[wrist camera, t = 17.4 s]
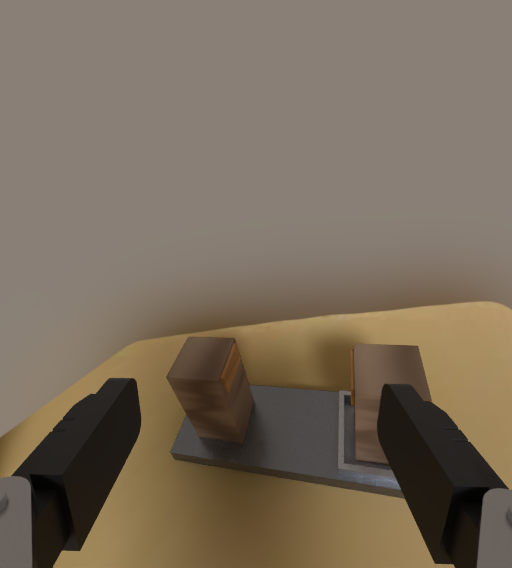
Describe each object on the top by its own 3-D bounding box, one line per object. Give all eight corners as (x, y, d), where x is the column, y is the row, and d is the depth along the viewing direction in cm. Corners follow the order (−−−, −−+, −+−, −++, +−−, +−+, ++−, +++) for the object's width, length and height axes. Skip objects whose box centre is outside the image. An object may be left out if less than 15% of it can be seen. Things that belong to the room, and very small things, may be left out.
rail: (174, 459, 33) (166, 447, 31) (204, 388, 40) (199, 375, 38) (451, 506, 25) (457, 493, 24) (428, 408, 32) (431, 393, 31)
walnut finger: (352, 459, 28) (350, 393, 23) (351, 410, 32) (349, 343, 26) (416, 468, 27) (431, 399, 21) (407, 415, 30) (417, 345, 25)
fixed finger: (198, 436, 33) (166, 377, 27) (214, 396, 37) (188, 336, 31) (245, 443, 31) (221, 381, 26) (256, 400, 35) (237, 338, 30)
